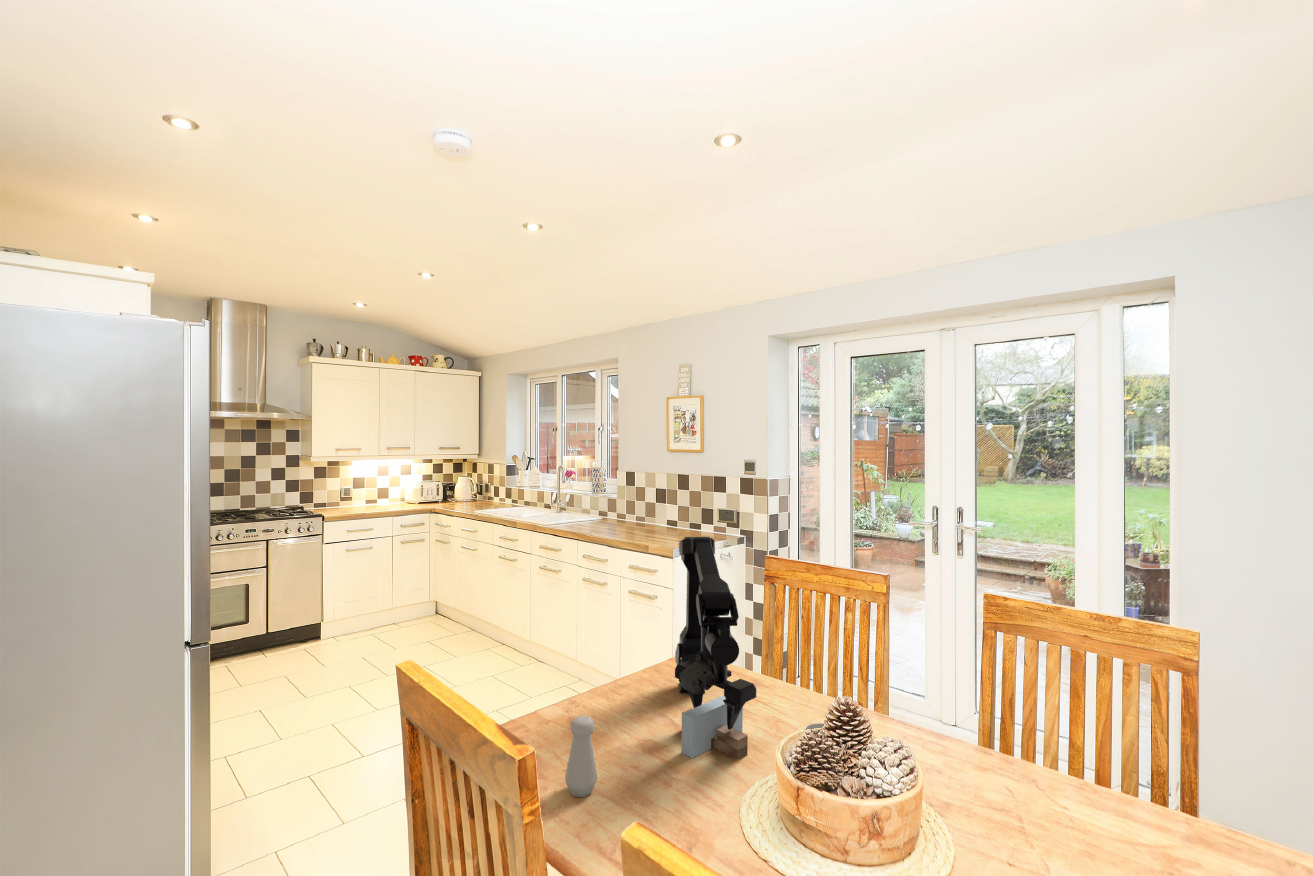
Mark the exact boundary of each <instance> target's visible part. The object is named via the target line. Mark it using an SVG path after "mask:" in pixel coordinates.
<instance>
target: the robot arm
mask: <svg viewBox="0 0 1313 876" xmlns="http://www.w3.org/2000/svg"><path fill="white" fill-rule="evenodd" d="M715 543H716V542H715V539H713V537H709V536H684V537H683V539H681V540H680V541H679V543H678V552H679V553H678V554H679V555H680V556H681V561H682V562H683V565H684V566H685V568H686V601H685V602H686V607H685V609H686V611H685V626H684V628H682V630H681V632H680V634H679V642H678V643H677V644H676V648H675V654H674V656H675V657H674V658H675V664H676V666H675V668H674V678H675V679H678V682H679V693H682V694H683V693H686V694H687V693H688V694H689V697H690V700H691V703H692V707H693V708H696V707H698V706H700V705H703V699H704V694H705V693H706V691H709V690H710V689H711V688H713V686H715V687H717V688H720V689H722V690H723V696H725V698H726V699H725V700H723V702H724V703H725V704H726V705H727V727H728V729H729V730H730V729H732V728H733V726H734V724H735V722H736V719H737V717H738V715H739V713H740V711H741V709H742V707H743V708H744V706H745V704H746V703H747V702H749V701H752V700H754V699H756V698H757V686H756V685H755V684H754V683H753V682H750V681H747V680H746V679H742V678H739V679H737V680H734V681H730V680H728V678H731V677H732V671H731V670H729V668H728V666H729V665H731V664H733V663H734V662H736V660H737V659H738V657H739V654H740V647H739V643H738V641H737V640H736V639H735V637H734V636H733V634H732V633H731V627H737V626H738V620H739V612H738V606H737V601H736V598H735V597H734V596H735V595H734V594H733V593H731V589H730V587H729V584H728V582H726V580H724V579H722V578H721V575H720V572H719V568H718V564H717V560H716V556H715V554H716V547H715V546H716V544H715ZM729 615H730V616H729Z"/></svg>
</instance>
